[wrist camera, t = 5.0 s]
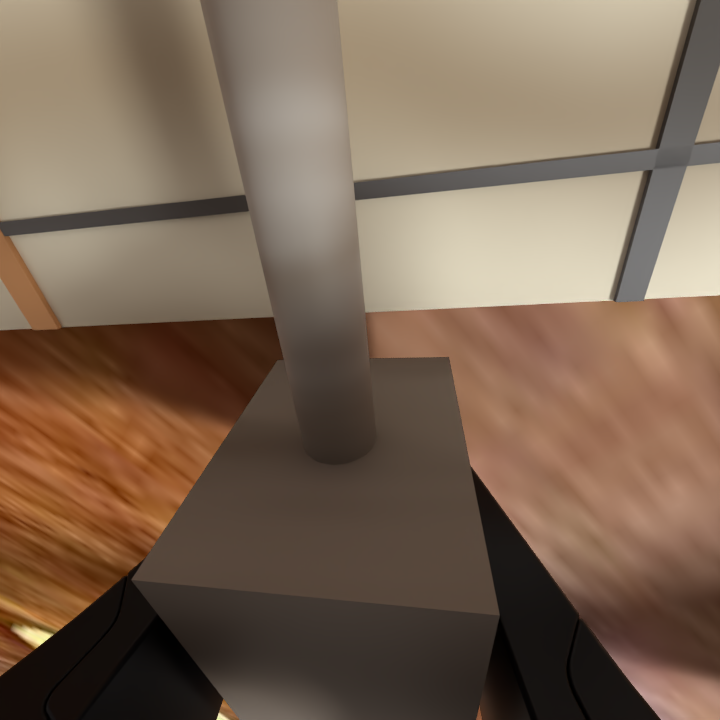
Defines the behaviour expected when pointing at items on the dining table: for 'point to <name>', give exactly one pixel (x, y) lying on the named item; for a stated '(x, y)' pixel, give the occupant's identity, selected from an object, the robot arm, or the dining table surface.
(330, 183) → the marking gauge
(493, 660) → the robot arm
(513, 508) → the dining table surface
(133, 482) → the dining table surface
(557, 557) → the dining table surface
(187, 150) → the birch plank
